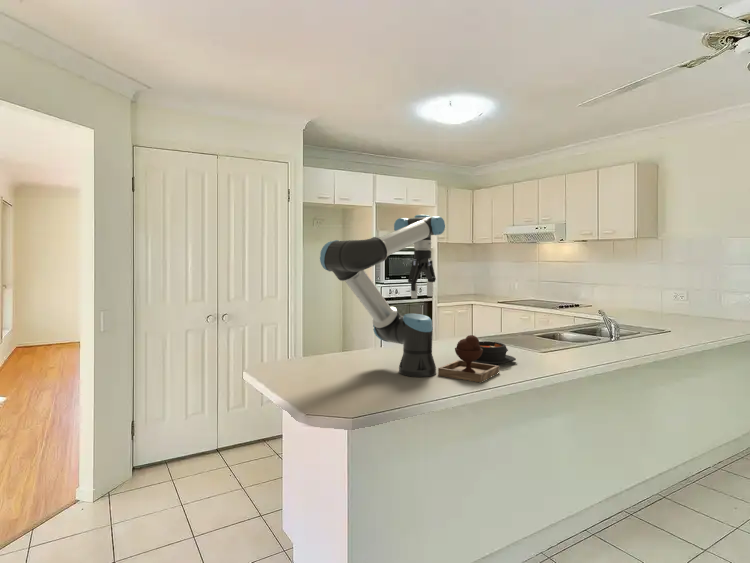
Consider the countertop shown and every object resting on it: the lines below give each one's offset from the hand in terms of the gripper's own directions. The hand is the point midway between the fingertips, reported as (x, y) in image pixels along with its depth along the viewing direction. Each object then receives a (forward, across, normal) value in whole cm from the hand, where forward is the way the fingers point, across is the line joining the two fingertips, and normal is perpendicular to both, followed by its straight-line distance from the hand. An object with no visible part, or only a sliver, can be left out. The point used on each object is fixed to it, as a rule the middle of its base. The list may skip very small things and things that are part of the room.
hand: (422, 297), depth 212 cm
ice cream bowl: (+28, -10, -28) cm, 41 cm away
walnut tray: (+29, -10, -28) cm, 41 cm away
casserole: (+29, +14, -26) cm, 41 cm away
